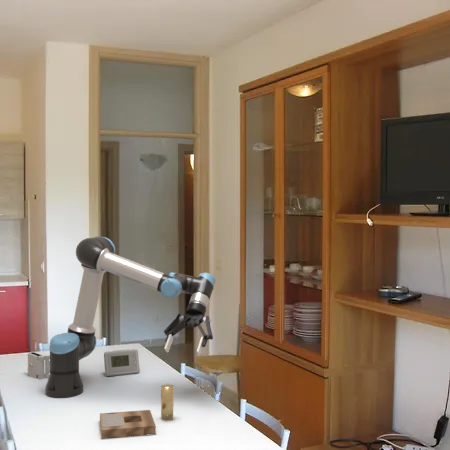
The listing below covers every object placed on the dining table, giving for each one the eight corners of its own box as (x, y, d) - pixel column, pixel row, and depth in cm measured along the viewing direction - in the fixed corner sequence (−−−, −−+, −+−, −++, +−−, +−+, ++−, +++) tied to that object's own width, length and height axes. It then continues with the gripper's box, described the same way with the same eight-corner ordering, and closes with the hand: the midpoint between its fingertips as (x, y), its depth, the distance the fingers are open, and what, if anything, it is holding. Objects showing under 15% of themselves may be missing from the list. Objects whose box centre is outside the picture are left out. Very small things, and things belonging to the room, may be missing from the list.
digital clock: (104, 377, 267) (104, 354, 267) (103, 371, 276) (103, 349, 276) (140, 375, 271) (140, 352, 270) (138, 370, 280) (138, 347, 279)
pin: (161, 421, 214) (162, 388, 214) (160, 417, 218) (160, 384, 218) (174, 420, 215) (174, 387, 215) (172, 416, 219) (172, 384, 219)
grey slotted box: (54, 378, 266) (54, 355, 265) (45, 381, 261) (45, 358, 260) (32, 373, 273) (32, 351, 272) (23, 376, 268) (23, 354, 268)
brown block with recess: (101, 438, 197) (101, 429, 197) (99, 421, 213) (99, 412, 213) (155, 434, 202) (155, 425, 202) (150, 417, 217) (150, 409, 217)
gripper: (228, 314, 239) (215, 360, 226) (172, 310, 248) (156, 354, 234) (223, 302, 234) (209, 349, 220) (167, 299, 243) (149, 344, 229)
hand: (182, 352), depth 227 cm, fingers open, 13 cm apart
